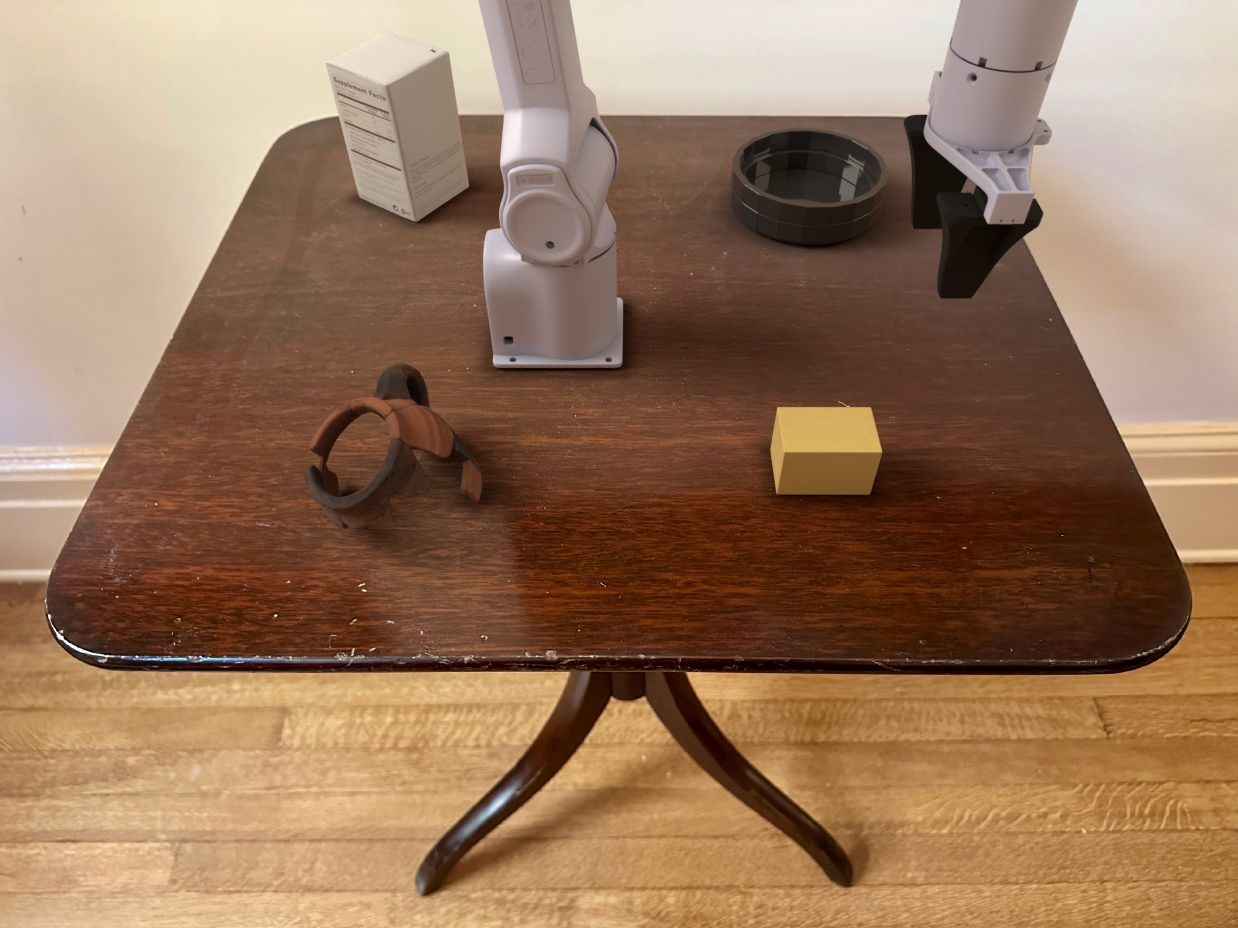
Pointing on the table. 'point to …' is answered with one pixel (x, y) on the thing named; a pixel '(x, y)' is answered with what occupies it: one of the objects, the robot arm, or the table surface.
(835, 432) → the yellow box
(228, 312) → the table surface
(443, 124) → the white packaging box
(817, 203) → the pan
